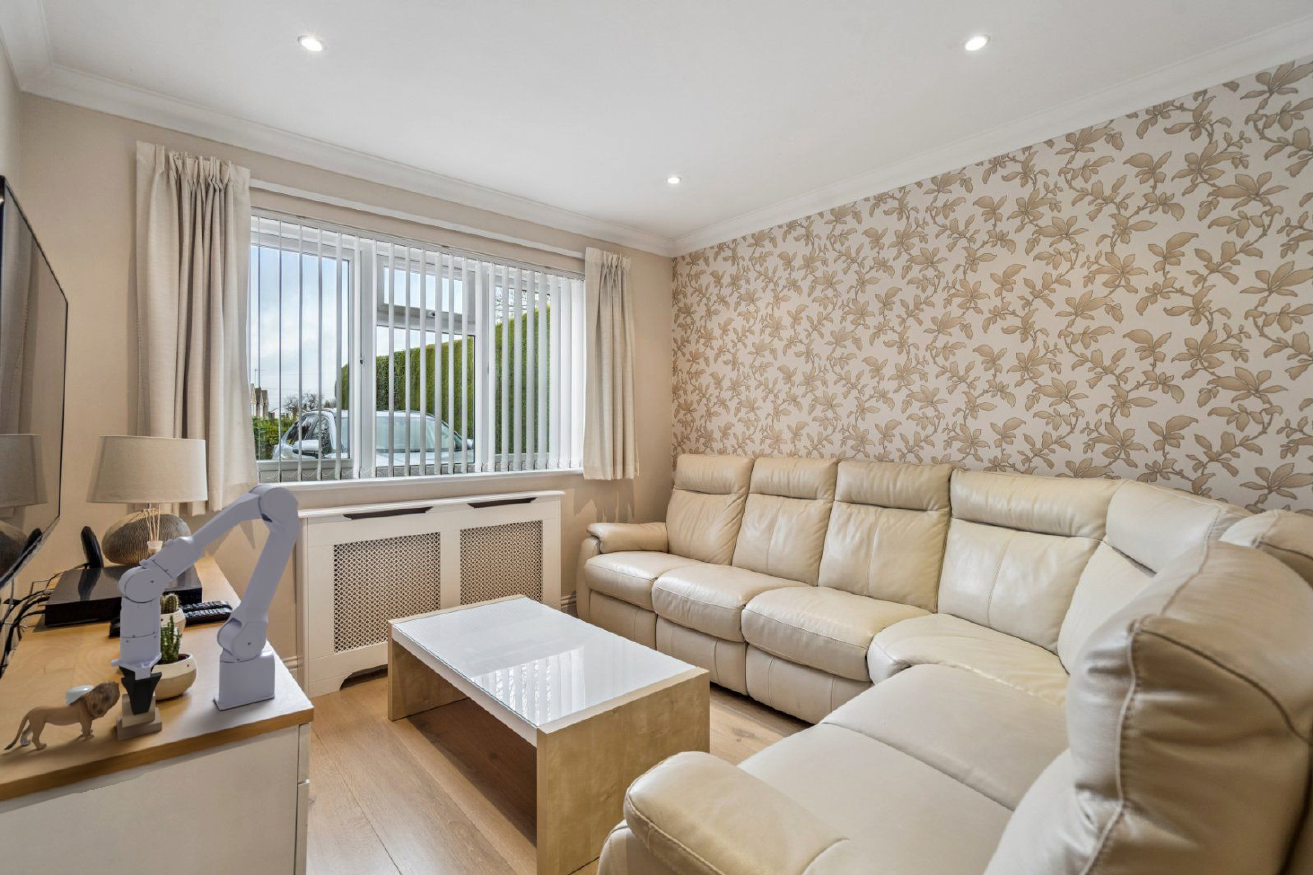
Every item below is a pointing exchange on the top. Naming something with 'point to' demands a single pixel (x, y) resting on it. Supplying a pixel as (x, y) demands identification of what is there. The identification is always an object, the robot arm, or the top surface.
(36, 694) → the top surface
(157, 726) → the plinth
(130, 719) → the oak block
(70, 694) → the silver rounded block
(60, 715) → the lion figurine
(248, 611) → the robot arm
